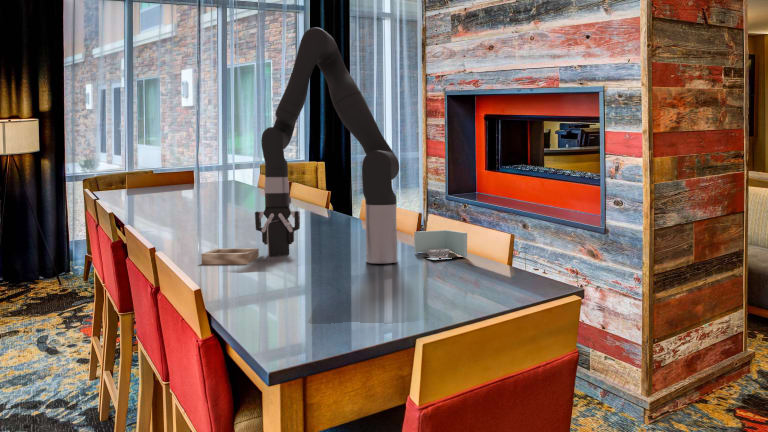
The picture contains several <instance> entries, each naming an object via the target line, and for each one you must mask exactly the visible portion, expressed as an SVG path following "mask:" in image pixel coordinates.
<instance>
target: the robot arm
mask: <svg viewBox="0 0 768 432" xmlns="http://www.w3.org/2000/svg"><path fill="white" fill-rule="evenodd" d="M336 42H337V41H336V40H335V39H334V37H332V35H331V34H329V33H328V31H325V30H324V29H323V28H320V27H317V26H316V27H311V28H309V29H307V30H306V31H305V32H304V34H303V35H302V37H301V39H300V43H299V47H298V50H297V53H296V58H295V60H294V63H293V67H292V70H291V74H290V75H289V80H288V82H287V85H286V88H285V90H284V92H283V94H282V97H281V99H280V100H279V103H278V106H277V107H276V110H275V117H276V119H275V121H274V124H273V126H269V127H267V128H265V129H264V131H263V132H262V135H261V138H260V141H261V142H260V143H261V149H262V155H263V156H262V157H263V159H264V172H265V173H264V175H265V178H264V211H259V210H258V211H255V212H254V219H255V222H254V224H255V230H256V231H258V232H261V240H262V243H263V244H264V245H265V246H266V245H267V246H268V242H267V237H266V227H267V225H268V223H269V222H271V221H282V222H283V223H284V225H285V226H286V227H287V229H288V230H289V233H288V234H289V245H292V244H293V243H294V242H295V232H296V231H298V230H300V229H301V228H300V226H301V213H300V211H299V210H296V211H295V210H291V208H290V181H289V177H288V176H289V167H288V161H287V159H286V158H285V152H284V151H285V149H286V148H287V147H288V146H289V144H290V143H291V140H292V138H293V135H294V130H295V126H296V124H297V121H298V119H299V117H300V115H301V112H302V110H303V108H304V105H305V103H306V100H307V95H308V92H309V91H308V90H309V85H310V80H311V76H312V73H313V72H314V68H315V66H316V65H317V66H318V69H319V70H320V72H321V73H322V75H323V76H324V78H325V80H326V83H327V87H328V92H329V96H330V100H331V102H332V105H333V107H334V109H335V111H336V113H337V115H338V117H339V118H340V121H341V123H342V124H343V125H344V126H345V128H346V130H348V131H349V132H350V134H352V136H353V137H354V138H355V139H356V140H357V141H358V142H359V144H360V146H361V147H362V149H363V151H364V153H365V156H364V157H363V160H362V163H361V164H362V165H361V179H362V180H361V181H362V193H363V197H364V200H365V261H366V263H368V264H392V263H394V264H396V263H398V229H397V195H396V193H395V192H394V190H393V181H392V180H394V179H395V178H396V177H397V176H398V175H399V171H400V162H399V159H398V157H397V156H396V154H395V153H394V151H393V149H392V148H391V146H390V145H389V144H388V142H387V140H386V139H385V138H384V136H383V134H382V132H381V130H380V128H379V126H378V124H377V122H376V120H375V118H374V116H373V114H372V112H371V110H370V108H369V106H368V103H367V101H366V100H365V98H364V96H363V94H362V92H361V90H360V88H359V87H358V85H357V84H356V82H355V80H354V78H353V77H352V75H351V73H350V72H349V71H348V69H347V67H346V65H345V62H344V60H343V58H342V55H341V52H340V50H339V48H338V45H337V43H336ZM290 216H291V217H292V218H294V226H293V225H292V224H291V222H290V220H289V219H290ZM263 217H265V218H266V221H265V223H264V225H263V226H262V218H263ZM285 222H286V223H285Z"/></svg>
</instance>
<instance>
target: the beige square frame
mask: <svg viewBox="0 0 768 432" xmlns="http://www.w3.org/2000/svg"><path fill="white" fill-rule="evenodd" d="M259 250H260V249H259V248H214V249H211V250H208V251H206V252H204V253H201V254H200V256H201V258H200V260H201V262H200V263H201V265H249V264H251V263H252V262H254V261H256V260H257V259H258V258H259V255H260V253H259Z"/></svg>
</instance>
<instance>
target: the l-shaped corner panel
mask: <svg viewBox="0 0 768 432" xmlns="http://www.w3.org/2000/svg"><path fill="white" fill-rule="evenodd" d="M413 243H414V253H415V252H416V253H417V252H428V253H426V254H427V256H428V255H430V256H436V257H439V256H446V255H447V254H448V255H450V253H449V251H452V252H454V253H456V254H458V255H461V256H463V258H468V232H464V231H457V230H450V229H448V230H447V229H444V230H443V229H442V230H439V229H438V230H426V231H425V230H422V231H420V230H419V231H414V242H413ZM438 250H439V251H438ZM443 254H444V255H443ZM427 259H429V260H433V261H437V260H446V259H447V260H449V259H451V258H441V259H439V258H427Z"/></svg>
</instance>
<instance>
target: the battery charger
mask: <svg viewBox="0 0 768 432" xmlns="http://www.w3.org/2000/svg"><path fill="white" fill-rule="evenodd" d="M285 223H286V222H285ZM288 233H289V230H288V229H287V227H286V226H285V225H284V223H283V222H282V221H271V222H269V223H268V225H267V227H266V237H267V242H268V244H267V256H268V257H269V258H270V257H271V258H273V257H281V256H289V255H290V244H289V234H288Z"/></svg>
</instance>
